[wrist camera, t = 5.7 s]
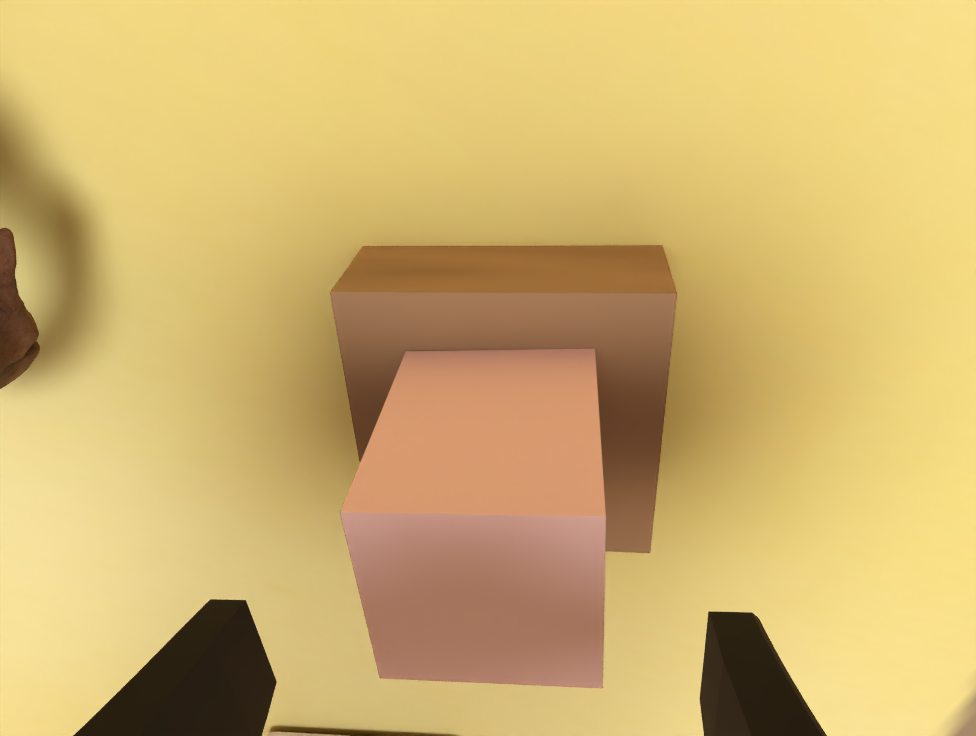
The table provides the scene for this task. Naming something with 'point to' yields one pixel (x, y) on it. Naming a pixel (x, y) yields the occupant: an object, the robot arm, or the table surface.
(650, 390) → the brown block
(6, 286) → the brown curved piece
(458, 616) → the pink block
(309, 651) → the table surface
